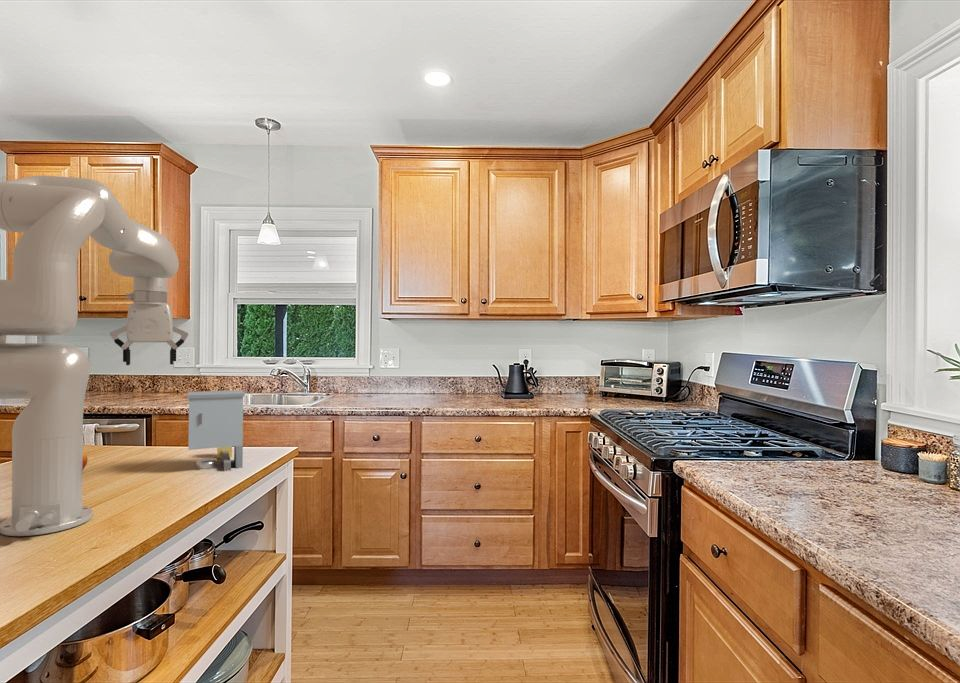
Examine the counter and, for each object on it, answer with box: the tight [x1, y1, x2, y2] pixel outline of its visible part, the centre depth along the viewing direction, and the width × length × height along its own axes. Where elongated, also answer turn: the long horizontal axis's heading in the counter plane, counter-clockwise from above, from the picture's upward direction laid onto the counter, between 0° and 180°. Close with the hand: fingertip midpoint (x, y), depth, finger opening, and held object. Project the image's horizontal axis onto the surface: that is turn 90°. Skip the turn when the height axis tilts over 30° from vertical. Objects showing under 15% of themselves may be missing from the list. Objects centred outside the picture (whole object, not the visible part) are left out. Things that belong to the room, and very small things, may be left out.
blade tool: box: [216, 447, 233, 472], centre depth 136 cm, size 19×4×7 cm, turn 28°
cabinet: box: [187, 389, 246, 469], centre depth 132 cm, size 9×13×19 cm
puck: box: [196, 457, 218, 470], centre depth 131 cm, size 4×4×2 cm
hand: (150, 364), depth 136 cm, fingers open, 9 cm apart
